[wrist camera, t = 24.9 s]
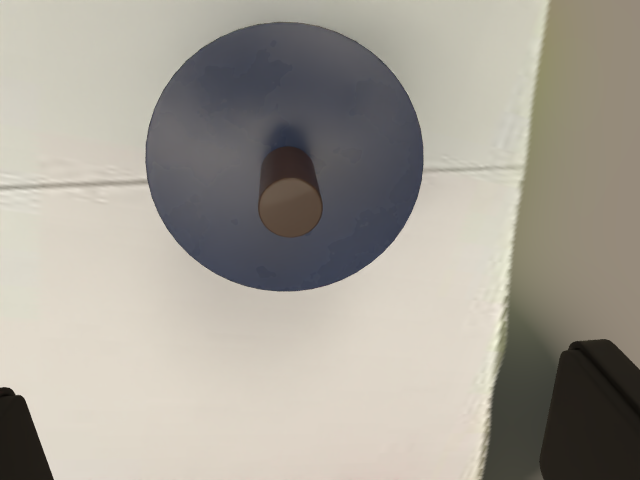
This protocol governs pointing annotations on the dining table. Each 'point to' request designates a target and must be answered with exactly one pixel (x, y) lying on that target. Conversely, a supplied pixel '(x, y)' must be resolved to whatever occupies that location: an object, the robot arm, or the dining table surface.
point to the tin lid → (284, 156)
